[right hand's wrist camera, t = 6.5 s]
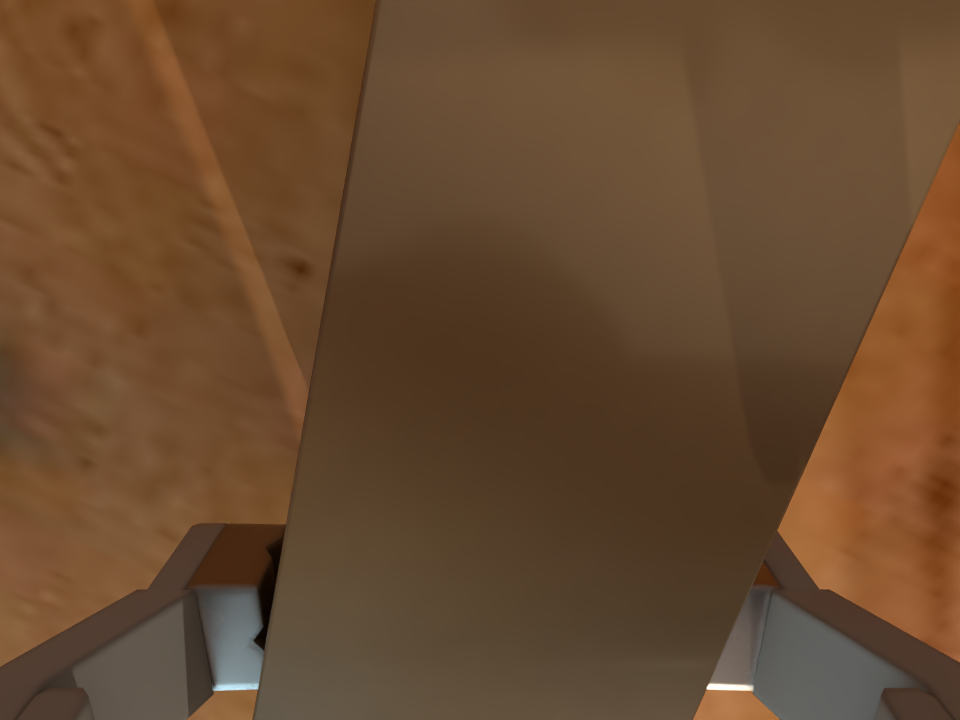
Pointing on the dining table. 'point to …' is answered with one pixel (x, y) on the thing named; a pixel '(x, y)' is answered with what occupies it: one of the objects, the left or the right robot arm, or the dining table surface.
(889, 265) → the cabinet
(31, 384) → the dining table surface
